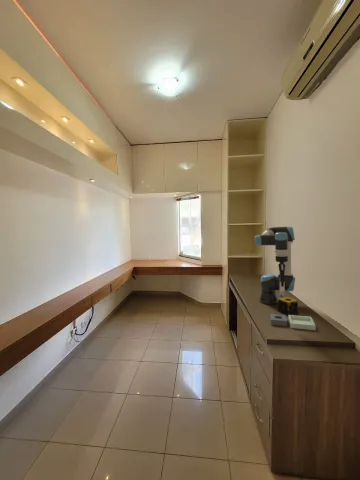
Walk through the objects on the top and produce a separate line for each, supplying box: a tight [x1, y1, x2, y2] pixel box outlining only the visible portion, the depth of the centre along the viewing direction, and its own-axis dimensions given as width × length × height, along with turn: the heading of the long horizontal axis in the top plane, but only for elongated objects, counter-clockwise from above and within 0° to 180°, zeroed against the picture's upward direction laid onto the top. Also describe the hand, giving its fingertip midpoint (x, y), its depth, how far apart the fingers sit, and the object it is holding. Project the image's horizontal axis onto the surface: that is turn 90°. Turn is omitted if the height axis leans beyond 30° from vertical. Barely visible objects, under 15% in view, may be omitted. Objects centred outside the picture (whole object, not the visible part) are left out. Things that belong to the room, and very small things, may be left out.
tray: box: [287, 314, 317, 331], centre depth 151 cm, size 14×14×3 cm
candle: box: [277, 296, 299, 316], centre depth 171 cm, size 10×10×10 cm
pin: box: [279, 291, 286, 298], centre depth 153 cm, size 3×3×12 cm
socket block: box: [269, 313, 288, 327], centre depth 155 cm, size 10×10×4 cm
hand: (282, 290), depth 153 cm, fingers closed on pin, 3 cm apart
